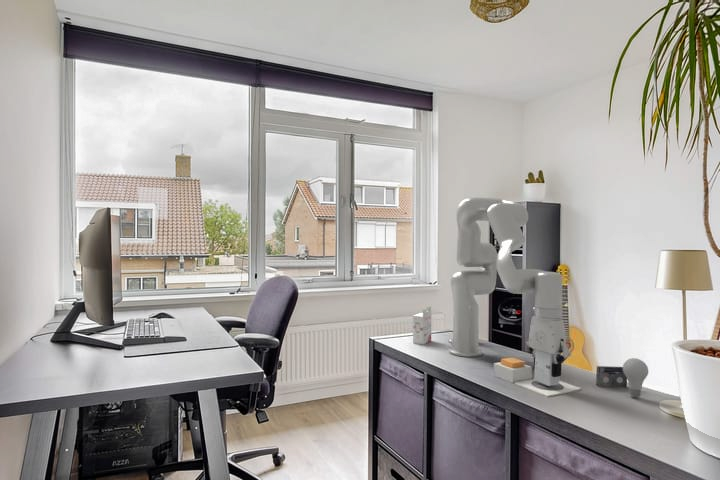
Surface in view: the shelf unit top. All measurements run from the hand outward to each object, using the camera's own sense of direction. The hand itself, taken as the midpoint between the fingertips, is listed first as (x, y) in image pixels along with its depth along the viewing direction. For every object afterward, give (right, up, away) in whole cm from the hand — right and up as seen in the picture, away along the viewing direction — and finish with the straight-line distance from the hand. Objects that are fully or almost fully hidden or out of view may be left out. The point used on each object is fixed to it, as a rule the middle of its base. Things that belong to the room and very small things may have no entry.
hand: (547, 372), depth 134 cm
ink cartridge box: (-30, -4, +55) cm, 63 cm away
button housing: (-8, -4, +8) cm, 12 cm away
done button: (-8, -2, +8) cm, 11 cm away
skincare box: (0, -3, 0) cm, 3 cm away
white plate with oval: (0, -4, 0) cm, 4 cm away
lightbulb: (+21, -5, -9) cm, 23 cm away
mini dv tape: (+20, -5, +1) cm, 20 cm away
